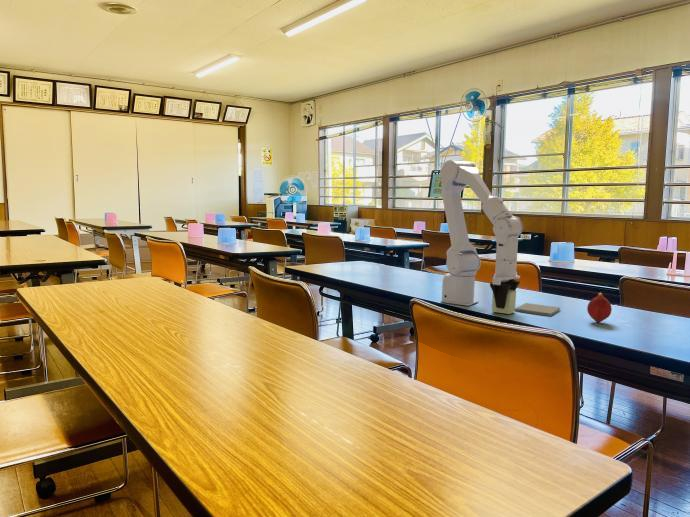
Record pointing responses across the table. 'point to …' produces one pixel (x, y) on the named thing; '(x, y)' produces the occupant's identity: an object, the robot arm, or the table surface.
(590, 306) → the onion
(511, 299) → the block
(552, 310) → the coaster
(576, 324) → the table surface
